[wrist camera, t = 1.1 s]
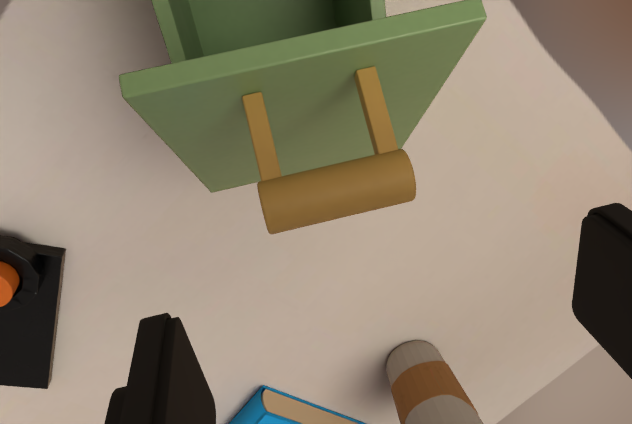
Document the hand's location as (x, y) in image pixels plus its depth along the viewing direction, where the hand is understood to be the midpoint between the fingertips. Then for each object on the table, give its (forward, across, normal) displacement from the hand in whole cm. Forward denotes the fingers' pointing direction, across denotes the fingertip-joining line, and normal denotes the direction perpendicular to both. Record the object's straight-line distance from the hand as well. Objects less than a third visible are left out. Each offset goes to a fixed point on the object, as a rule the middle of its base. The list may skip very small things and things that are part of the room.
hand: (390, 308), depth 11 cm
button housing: (+31, +29, +18) cm, 46 cm away
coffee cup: (+31, -8, +38) cm, 50 cm away
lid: (+13, 0, 0) cm, 13 cm away
